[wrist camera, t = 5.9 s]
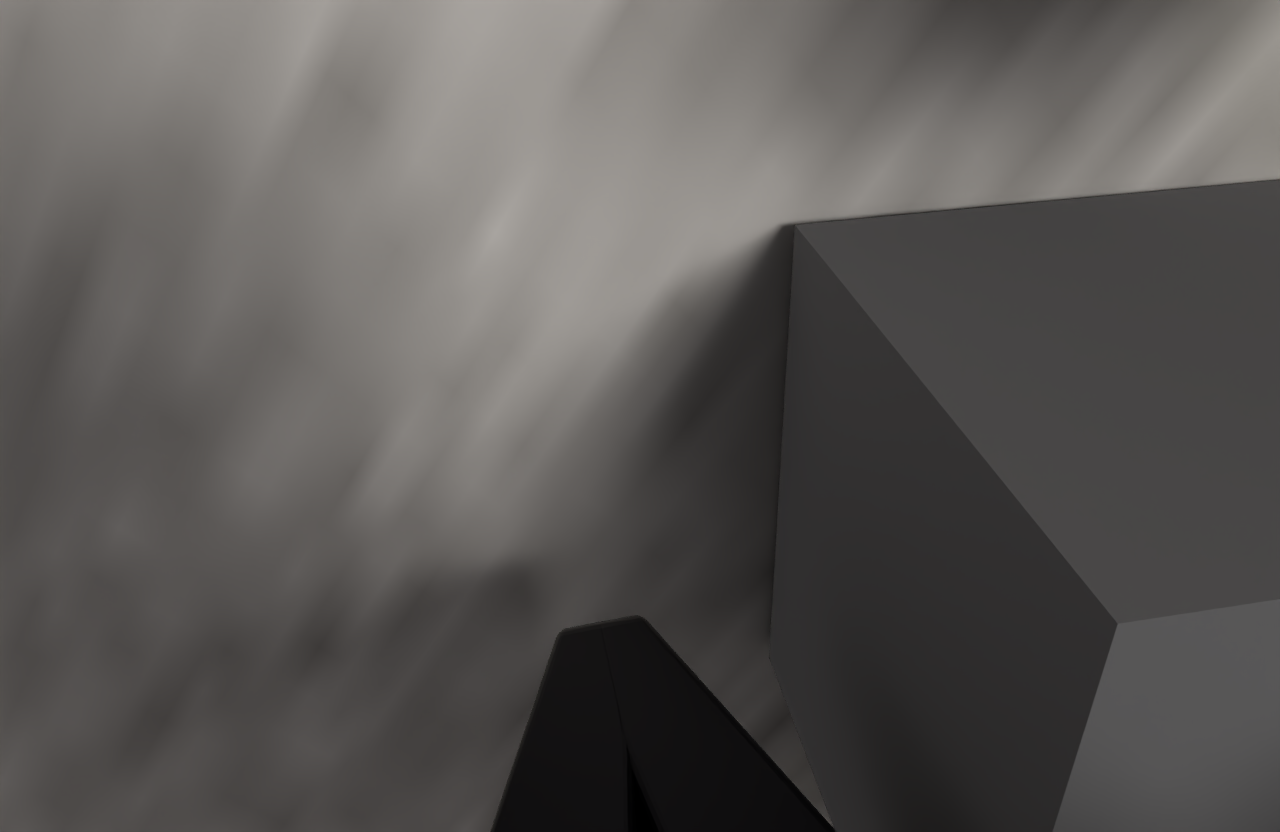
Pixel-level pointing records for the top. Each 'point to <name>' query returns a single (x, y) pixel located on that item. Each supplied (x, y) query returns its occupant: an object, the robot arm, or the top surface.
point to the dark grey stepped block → (1036, 515)
